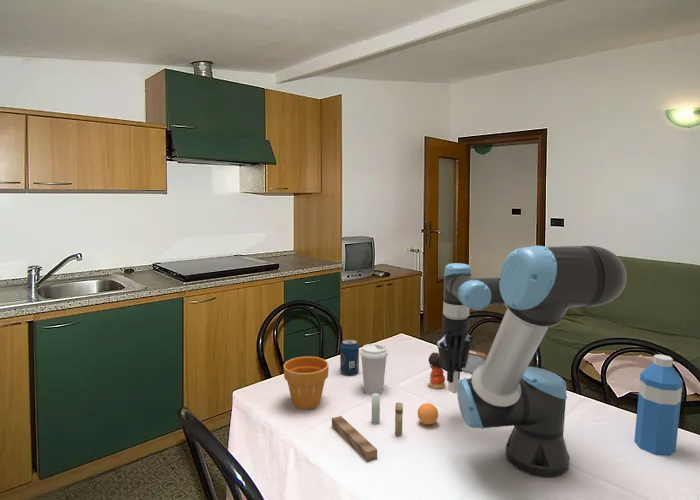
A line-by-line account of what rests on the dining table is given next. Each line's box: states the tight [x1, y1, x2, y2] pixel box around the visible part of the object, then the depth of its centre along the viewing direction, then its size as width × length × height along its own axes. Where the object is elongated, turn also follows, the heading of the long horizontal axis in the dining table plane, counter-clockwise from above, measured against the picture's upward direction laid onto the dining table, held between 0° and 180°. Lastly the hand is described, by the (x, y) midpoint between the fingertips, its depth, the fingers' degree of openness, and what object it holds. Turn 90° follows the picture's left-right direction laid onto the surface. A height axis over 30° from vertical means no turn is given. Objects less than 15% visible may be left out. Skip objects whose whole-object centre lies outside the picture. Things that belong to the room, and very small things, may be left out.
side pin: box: [371, 393, 381, 425], centre depth 139 cm, size 2×2×8 cm
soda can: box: [339, 338, 360, 376], centre depth 175 cm, size 7×7×12 cm
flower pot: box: [283, 356, 329, 410], centre depth 151 cm, size 14×14×13 cm
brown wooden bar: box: [331, 415, 378, 462], centre depth 129 cm, size 20×3×2 cm, turn 29°
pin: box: [394, 402, 404, 437], centre depth 132 cm, size 2×2×9 cm
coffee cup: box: [359, 343, 389, 395], centre depth 160 cm, size 10×10×15 cm
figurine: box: [427, 352, 446, 390], centre depth 163 cm, size 6×6×12 cm
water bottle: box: [633, 353, 684, 457], centre depth 125 cm, size 9×9×25 cm
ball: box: [417, 402, 439, 426], centre depth 138 cm, size 6×6×6 cm
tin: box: [462, 349, 488, 374], centre depth 175 cm, size 15×3×8 cm, turn 49°
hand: (452, 391), depth 143 cm, fingers closed
